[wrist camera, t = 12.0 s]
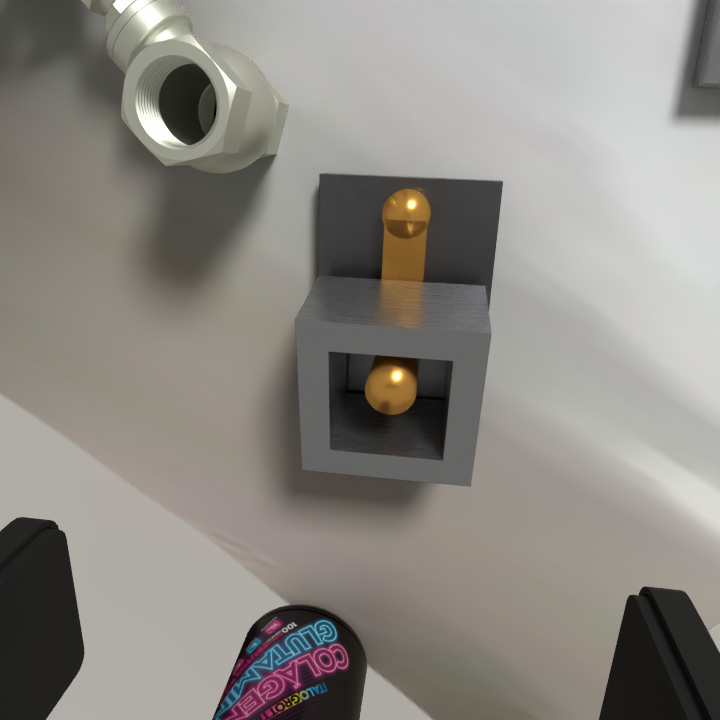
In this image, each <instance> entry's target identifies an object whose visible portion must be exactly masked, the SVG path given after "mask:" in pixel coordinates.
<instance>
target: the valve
mask: <svg viewBox="0 0 720 720" xmlns="http://www.w3.org/2000/svg"><path fill="white" fill-rule="evenodd" d="M81 1H82V2H83V3H84V4H85V6H86V7H87V8H88V9H89V10H91V11H94V12H96V13H98V14H101V15H103V16H105V15H107V18H106V25H105V28H106V29H107V30H108V31H109V34H108V37H107V41H106V51H107V53H108V56H109V57H110V58H111V59H112V60H113V61H114V62H115V63H116V65H117V66H118V67H119V68H120V69H121V70H122V71H123V72H124V73H125V74H126V75H125V80H124V86H123V95H122V105H121V118H122V120H123V121H124V122H125V123H126V125H127V126H128V127H129V128H130V130H131V131H132V132H133V133H134V134H135V135H136V137H137V138H138V139H139V140H140V141H141V142H142V143H143V144H144V145H145V146H146V147H147V148H148V149H149V151H150V152H151V153H152V154H153V155H154V156H155V157H156V158H158V159H159V160H160V161H161V162H162V163H163V164H164V165H165V166H186V165H189V166H191V167H193V168H195V169H198V170H201V171H204V172H209V173H230V172H234V171H238V170H241V169H243V168H245V167H247V166H249V165H250V164H252V163H253V162H255V161H256V160H257V159H259V158H263V157H267V156H271V155H275V154H277V151H278V147H279V144H280V140H281V136H282V132H283V128H284V124H285V120H286V116H287V112H288V107H289V105H288V104H287V102H286V101H285V100H284V99H283V98H282V97H281V95H280V94H279V93H278V92H277V91H276V90H275V88H274V87H273V86H272V85H271V84H270V83H269V81H268V80H267V79H266V77H265V75H264V74H263V72H262V71H261V70H260V68H259V67H258V66H257V65H256V64H255V63H254V62H253V61H252V60H251V59H250V58H249V57H247V56H246V55H244V54H243V53H241V52H240V51H238V50H236V49H234V48H231V47H229V46H226V45H222V44H218V43H208V42H206V41H204V40H202V39H200V38H198V37H196V36H194V35H193V34H192V30H193V21H192V19H191V16H190V15H189V14H188V13H187V12H186V11H185V10H184V8H183V7H182V6H181V5H180V4H179V3H178V1H177V0H81ZM216 101H217V112H216V118H215V121H214V108H215V103H216Z"/></svg>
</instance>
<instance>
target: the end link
mask: <svg viewBox="0 0 720 720" xmlns="http://www.w3.org/2000/svg"><path fill="white" fill-rule="evenodd" d="M295 327H296V348H297V370H298V391H299V413H300V434H301V455H302V470H307V471H317V472H327V473H338V474H348V475H358V476H368V477H378V478H388V479H398V480H408V481H418V482H429V483H439V484H449V485H459V486H469V487H471V479H472V472H473V464H474V457H475V450H476V442H477V435H478V428H479V420H480V413H481V406H482V398H483V391H484V384H485V376H486V369H487V362H488V354H489V347H490V340H491V327H490V319H489V311H488V303H487V295H486V288H485V286H479V285H463V284H446V283H430V282H414V281H398V280H382V279H366V278H349V277H333V276H318V278H317V280H316V281H315V283H314V285H313V287H312V289H311V291H310V293H309V295H308V297H307V298H306V300H305V302H304V304H303V306H302V308H301V310H300V312H299V314H298V315H297V317H296V319H295ZM346 353H356V354H369V355H382V356H395V357H408V358H421V359H434V360H448V369H447V379H446V390H445V400H444V401H442V400H430V399H418V398H415V400H414V402H413V404H412V405H411V406H410V407H409V408H408V409H407V410H406V411H404V412H402V413H399V414H394V415H389V414H384V413H381V412H379V411H377V410H375V409H374V408H373V407H372V406H371V405H370V404H369V402H368V400H367V398H366V395H365V394H358V393H346Z"/></svg>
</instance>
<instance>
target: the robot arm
mask: <svg viewBox="0 0 720 720" xmlns="http://www.w3.org/2000/svg"><path fill="white" fill-rule="evenodd" d="M83 658H84V644H83V638H82V632H81V626H80V620H79V613H78V607H77V601H76V595H75V589H74V582H73V577H72V570H71V565H70V558H69V551H68V545H67V539H66V536H65V533H64V532H63V531H61V530H59V528H58V525H57V524H56V523H55V522H54V521H51V520H43V519H34V518H25V517H21V518H16V519H15V520H13V521H12V522H10V523H9V524H8V525H7V526H6V527H5V528H4V529H2V530H1V531H0V720H46V719H47V717H48V716H49V714H50V713H51V711H52V710H53V708H54V707H55V706H56V704H57V703H58V701H59V700H60V698H61V697H62V695H63V693H64V692H65V691H66V690H67V688H68V687H69V685H70V684H71V682H72V681H73V679H74V678H75V677H76V675H77V673H78V672H79V670H80V667H81V665H82V662H83ZM599 720H720V652H719V650H718V649H717V647H716V645H715V643H714V641H713V640H712V638H711V636H710V634H709V632H708V630H707V629H706V627H705V625H704V623H703V621H702V620H701V618H700V616H699V614H698V612H697V611H696V609H695V607H694V605H693V603H692V601H691V600H690V598H689V596H688V595H687V594H686V593H685V592H684V591H681V590H672V589H663V588H654V587H643V588H642V589H641V590H640V593H639V596H638V595H630V596H629V597H628V599H627V602H626V606H625V611H624V615H623V619H622V623H621V628H620V632H619V636H618V640H617V645H616V649H615V653H614V657H613V662H612V666H611V670H610V675H609V679H608V683H607V687H606V692H605V696H604V700H603V704H602V709H601V713H600V717H599Z"/></svg>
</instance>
